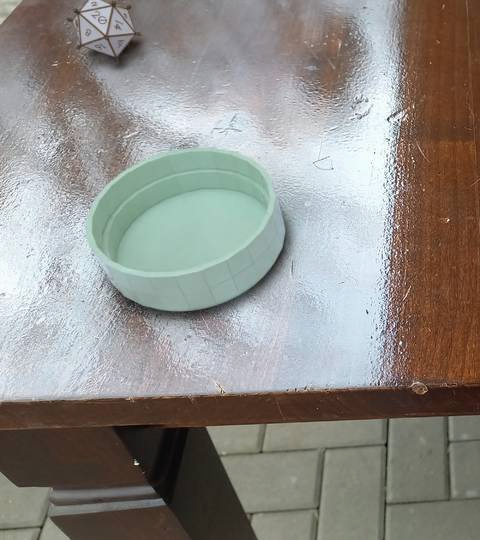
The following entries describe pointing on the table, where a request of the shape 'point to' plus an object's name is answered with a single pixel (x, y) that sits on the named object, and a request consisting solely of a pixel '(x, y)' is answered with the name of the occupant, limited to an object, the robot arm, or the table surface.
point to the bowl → (187, 228)
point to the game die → (104, 27)
